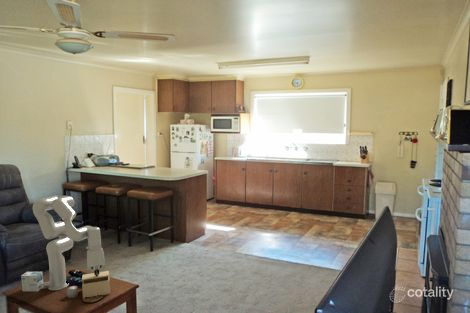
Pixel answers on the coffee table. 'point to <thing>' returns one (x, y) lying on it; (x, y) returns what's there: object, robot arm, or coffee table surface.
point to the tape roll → (72, 291)
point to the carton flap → (91, 276)
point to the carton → (96, 286)
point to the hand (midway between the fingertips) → (97, 275)
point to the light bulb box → (32, 281)
